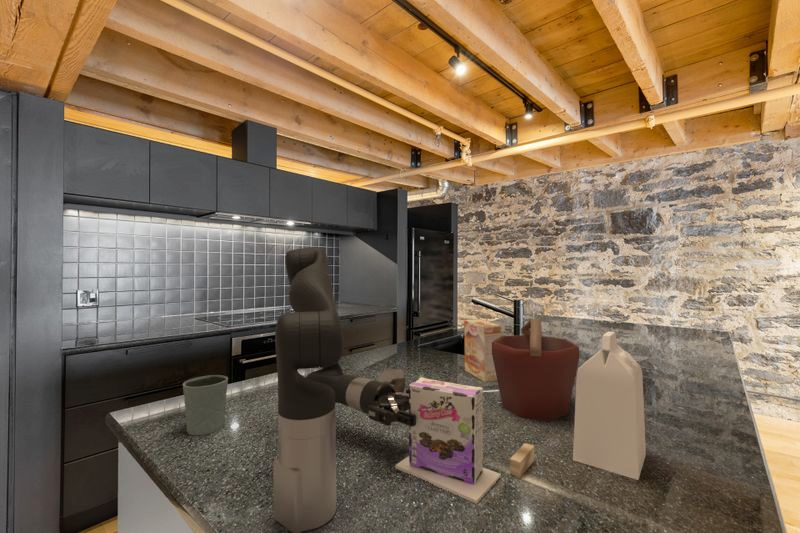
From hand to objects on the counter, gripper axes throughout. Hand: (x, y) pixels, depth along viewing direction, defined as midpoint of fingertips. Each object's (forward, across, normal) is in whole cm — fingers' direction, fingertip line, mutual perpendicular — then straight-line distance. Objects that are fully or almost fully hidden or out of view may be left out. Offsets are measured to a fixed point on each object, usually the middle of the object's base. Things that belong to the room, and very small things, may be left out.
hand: (427, 414), depth 75 cm
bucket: (+7, +43, +11) cm, 45 cm away
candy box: (+4, 0, +10) cm, 11 cm away
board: (+4, 0, +10) cm, 11 cm away
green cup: (-55, -20, +11) cm, 59 cm away
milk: (+28, +26, +11) cm, 40 cm away
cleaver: (-40, +36, +11) cm, 55 cm away
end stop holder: (+6, +11, +10) cm, 16 cm away
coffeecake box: (-19, +62, +11) cm, 66 cm away
